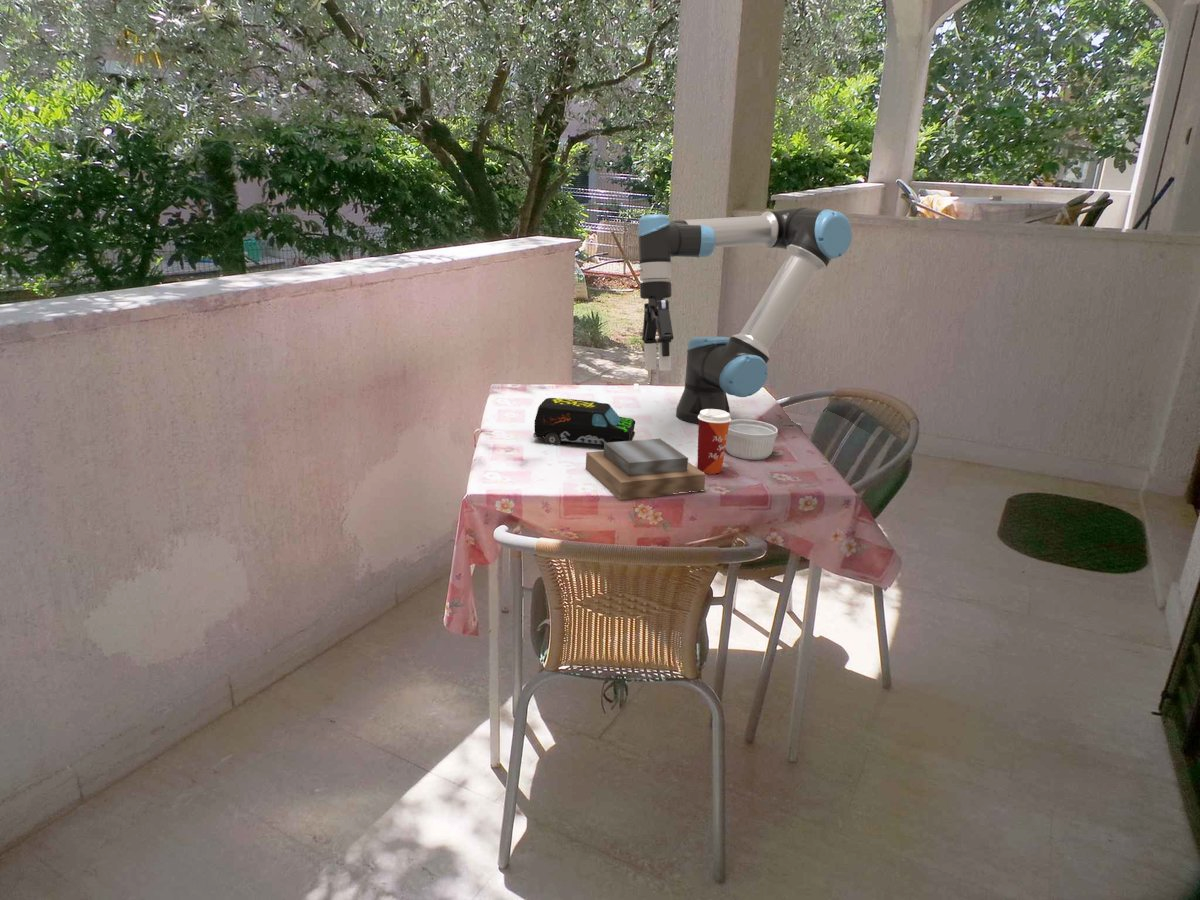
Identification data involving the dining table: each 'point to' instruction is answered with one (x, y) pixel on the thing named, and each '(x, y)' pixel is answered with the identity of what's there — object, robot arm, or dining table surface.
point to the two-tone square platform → (643, 469)
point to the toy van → (581, 422)
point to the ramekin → (750, 439)
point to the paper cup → (712, 439)
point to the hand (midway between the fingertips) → (657, 370)
